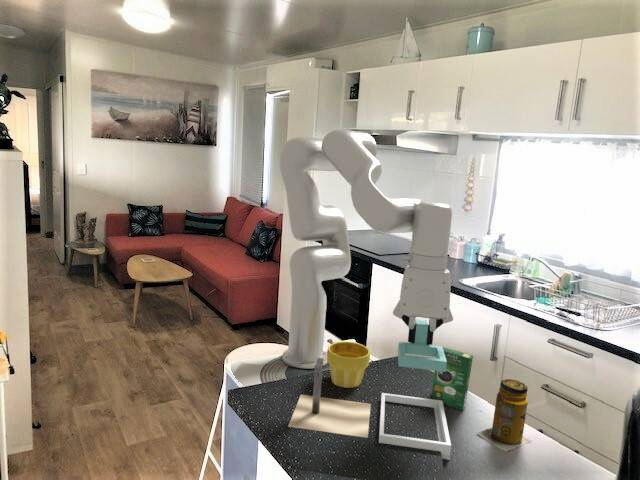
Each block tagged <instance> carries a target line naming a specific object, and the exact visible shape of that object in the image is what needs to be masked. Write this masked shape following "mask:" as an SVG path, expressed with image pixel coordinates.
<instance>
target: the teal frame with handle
mask: <svg viewBox="0 0 640 480" xmlns="http://www.w3.org/2000/svg"><path fill="white" fill-rule="evenodd" d="M428 325H429V323H428V321H427V319H417V318H415V326H416V327H415V328H416V335H415V343H411V342H407V341H405V342H404V341H398V347H397V357H398V358H397V361H398V362H397V363H398V367H402V368H409V369H410V368H411V369H419V370H420V369H421V370H426V371H443V372H446V366H447V360H446V357H445V354H444V350H443V347H444V346H442V345H433V344H432V345H426V342H427V332H428Z"/></svg>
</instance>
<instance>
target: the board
mask: <svg viewBox="0 0 640 480" xmlns="http://www.w3.org/2000/svg"><path fill="white" fill-rule="evenodd" d="M312 402H313V395H308V394H307V395H306V394H300V395H299V398H298V401H297V404H296V405H295V408H294V410H293V413H292V416H291V418H290V421H289V423H288V426H287V427H289V428H295V429H302V430H303V429H304V430H309V431H316V432H324V433H331V434H336V435H344V436H352V437H357V438H358V437H360V438H366V439H368V438H369V429H370V416H371V407H372V404H371V403H367V402H359V401H354V400H353V401H352V400H344V399H336V398H329V397H321V396H320V410H319V414H313V413H312Z"/></svg>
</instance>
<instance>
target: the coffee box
mask: <svg viewBox="0 0 640 480" xmlns="http://www.w3.org/2000/svg"><path fill="white" fill-rule="evenodd" d="M442 347H443V350H444V354H445V357H446V360H447V366H446V372H443V371H435V370H433V371H434V373H433V380H432V388H431V394H430V396H431V399H433V400H441V401H442V402H443V406H444V405H445V406H447V407H451V408H453V409H455V410H456V409H457V410H460V411H464V410H465V407H466V404H467V397H468V392H469V384H470V380H471V379H470V378H471V371H472V365H473V358H474V355H473V354H470V353H467V352H462V351H459V350H455V349H453V348H452V349H451V348H448V347H445V346H442Z"/></svg>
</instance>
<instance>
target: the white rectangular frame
mask: <svg viewBox="0 0 640 480" xmlns="http://www.w3.org/2000/svg"><path fill="white" fill-rule="evenodd" d="M386 402H389V403H395V404H397V403H398V404H404V405H409V406H410V405H411V406H418V407H427V408H433V412H434V418H435V424H436V430H437V436H438V440H430V439H425V438H417V437H410V436H409V437H408V436H403V435H396V434H389V433H385V414H386V413H385V408H386V407H385V406H386ZM445 413H446V412H445V407H444V404H443V402H442V401H441V400H433V399H432V398H424V397H416V396H409V395H402V394H395V393H393V394H392V393H385V392H381V398H380V414H379V428H378V429H379V432H378V443H379V444H387V445H394V446H399V447H407V448H412V449H413V448H414V449H422V450H427V451H434V452H440V455H441V459H442V460H449V461H450V458H451V451H452V442H451V437H450V433H449V428H448V422H447V417H446V414H445Z"/></svg>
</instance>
